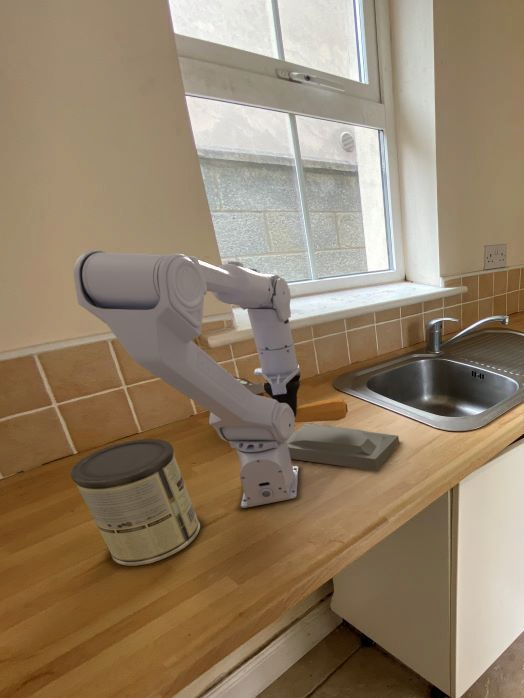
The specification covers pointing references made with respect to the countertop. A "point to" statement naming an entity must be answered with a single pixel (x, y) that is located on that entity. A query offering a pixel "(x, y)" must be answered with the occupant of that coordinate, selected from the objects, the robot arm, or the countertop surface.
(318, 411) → the carrot
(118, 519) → the coffee can
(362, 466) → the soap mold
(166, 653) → the countertop surface
